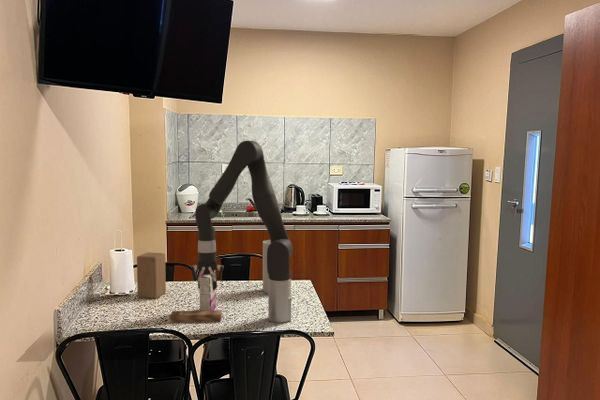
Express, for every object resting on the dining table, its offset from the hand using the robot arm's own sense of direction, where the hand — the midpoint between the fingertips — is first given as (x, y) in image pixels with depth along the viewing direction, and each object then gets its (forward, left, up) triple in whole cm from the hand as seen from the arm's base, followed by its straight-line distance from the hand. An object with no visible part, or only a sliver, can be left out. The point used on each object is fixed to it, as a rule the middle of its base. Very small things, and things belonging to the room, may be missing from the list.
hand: (207, 289), depth 199 cm
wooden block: (+30, -26, -10) cm, 40 cm away
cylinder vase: (-29, -31, -10) cm, 44 cm away
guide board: (+4, +9, -10) cm, 14 cm away
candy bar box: (0, 0, -10) cm, 10 cm away
